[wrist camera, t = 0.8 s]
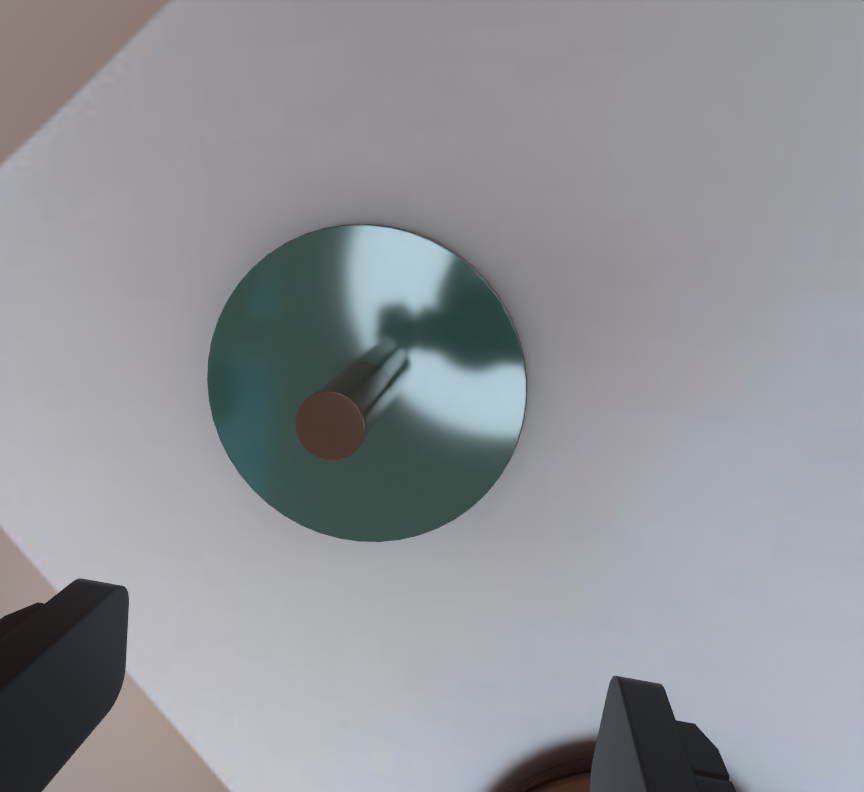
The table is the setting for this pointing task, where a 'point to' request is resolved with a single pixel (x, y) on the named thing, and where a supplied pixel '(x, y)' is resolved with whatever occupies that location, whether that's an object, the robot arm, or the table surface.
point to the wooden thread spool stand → (560, 779)
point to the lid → (367, 382)
